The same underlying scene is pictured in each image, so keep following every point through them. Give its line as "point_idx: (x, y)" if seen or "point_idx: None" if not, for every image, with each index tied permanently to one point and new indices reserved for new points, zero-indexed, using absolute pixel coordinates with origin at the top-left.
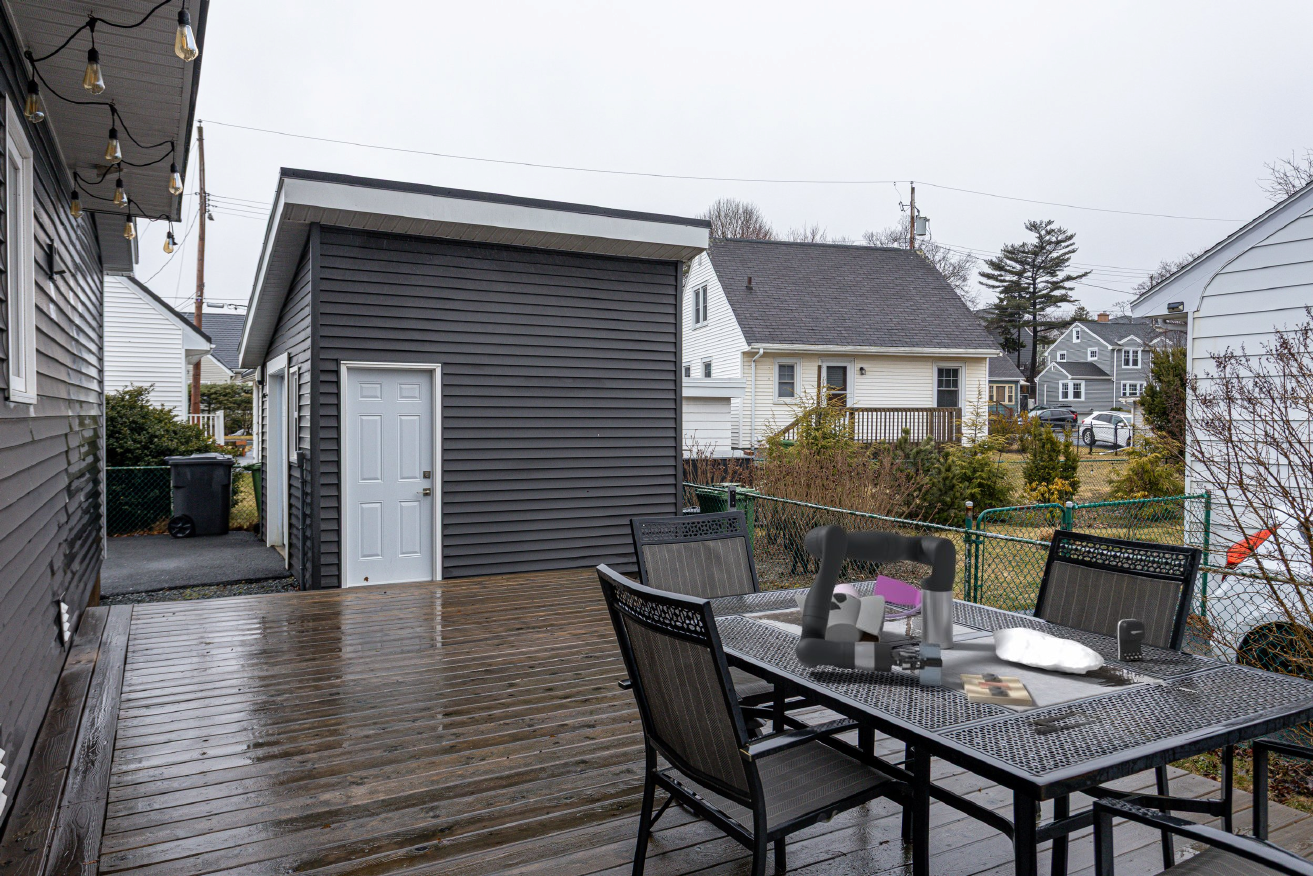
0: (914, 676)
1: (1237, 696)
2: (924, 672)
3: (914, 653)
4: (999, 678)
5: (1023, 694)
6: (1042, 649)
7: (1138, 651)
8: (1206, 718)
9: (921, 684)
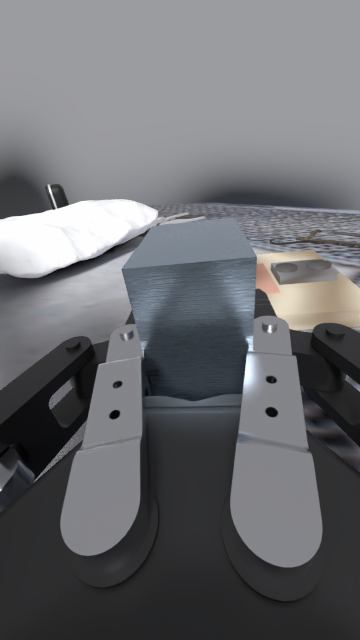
0: None
1: (181, 210)
2: None
3: (145, 377)
4: None
5: (281, 255)
6: (84, 223)
7: None
8: (254, 210)
9: None
